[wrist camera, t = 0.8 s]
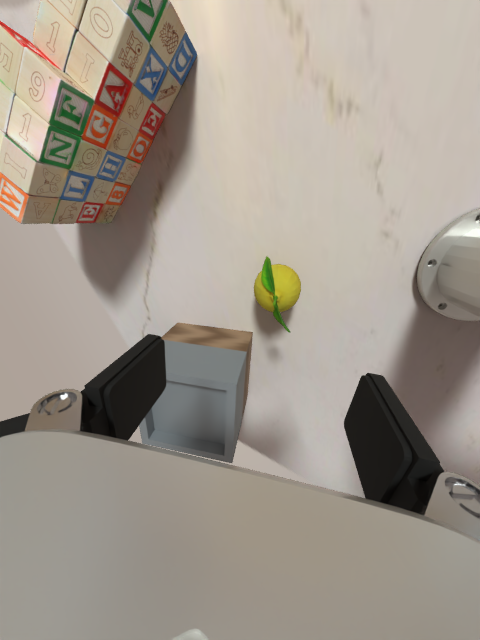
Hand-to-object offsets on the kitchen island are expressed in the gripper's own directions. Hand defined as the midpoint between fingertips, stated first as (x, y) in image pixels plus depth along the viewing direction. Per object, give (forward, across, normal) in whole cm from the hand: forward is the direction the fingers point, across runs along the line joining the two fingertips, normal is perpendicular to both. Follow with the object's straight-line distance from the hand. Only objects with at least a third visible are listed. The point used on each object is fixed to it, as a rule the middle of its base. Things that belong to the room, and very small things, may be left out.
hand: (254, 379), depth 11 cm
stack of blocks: (+22, +20, -15) cm, 33 cm away
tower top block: (+16, +8, +15) cm, 23 cm away
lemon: (+22, -1, 0) cm, 22 cm away
